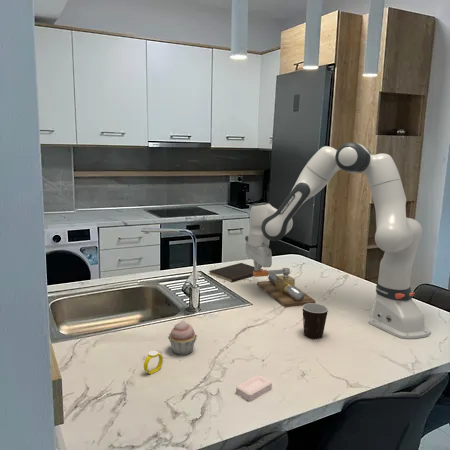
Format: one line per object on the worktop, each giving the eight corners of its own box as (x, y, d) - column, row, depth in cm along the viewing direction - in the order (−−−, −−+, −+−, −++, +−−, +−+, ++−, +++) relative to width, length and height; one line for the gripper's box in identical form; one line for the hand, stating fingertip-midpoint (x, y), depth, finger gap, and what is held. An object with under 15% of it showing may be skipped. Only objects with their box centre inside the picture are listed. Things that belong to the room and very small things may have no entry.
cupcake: (195, 342, 142) (196, 314, 140) (198, 356, 133) (199, 326, 131) (166, 344, 141) (167, 315, 139) (168, 358, 132) (168, 327, 130)
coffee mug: (304, 327, 156) (306, 301, 154) (328, 333, 152) (330, 306, 150) (294, 340, 146) (296, 312, 144) (320, 346, 142) (322, 318, 140)
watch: (148, 378, 121) (147, 359, 120) (142, 374, 123) (141, 355, 121) (165, 368, 126) (164, 350, 124) (158, 365, 127) (157, 347, 126)
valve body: (305, 302, 178) (306, 283, 177) (293, 303, 176) (294, 284, 175) (277, 282, 202) (278, 265, 200) (266, 283, 200) (267, 266, 199)
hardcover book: (208, 275, 213) (208, 270, 213) (241, 266, 229) (241, 262, 229) (231, 283, 202) (231, 279, 202) (264, 274, 218) (264, 269, 218)
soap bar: (272, 389, 118) (273, 381, 117) (249, 402, 112) (250, 394, 111) (257, 381, 122) (258, 373, 121) (234, 393, 115) (235, 385, 115)
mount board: (315, 304, 179) (315, 300, 179) (285, 307, 174) (285, 304, 174) (284, 282, 205) (284, 279, 204) (257, 285, 200) (257, 281, 200)
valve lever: (287, 272, 190) (287, 267, 189) (290, 274, 187) (291, 269, 186) (252, 274, 184) (252, 270, 184) (255, 277, 181) (255, 272, 181)
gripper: (276, 245, 176) (274, 278, 179) (256, 234, 195) (255, 264, 198) (262, 246, 174) (260, 279, 177) (243, 235, 193) (242, 265, 196)
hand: (257, 271), depth 188 cm, fingers closed
